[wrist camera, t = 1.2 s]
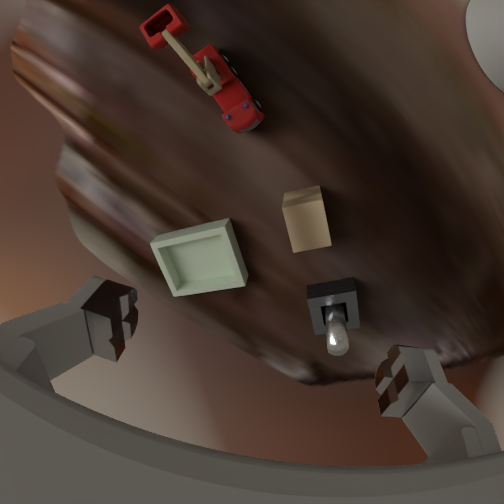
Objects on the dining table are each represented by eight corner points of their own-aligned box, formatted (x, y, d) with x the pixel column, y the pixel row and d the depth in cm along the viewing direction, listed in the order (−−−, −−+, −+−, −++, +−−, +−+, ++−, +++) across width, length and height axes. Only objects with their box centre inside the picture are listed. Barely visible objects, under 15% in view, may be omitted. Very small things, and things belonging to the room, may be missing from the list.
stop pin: (341, 291, 39) (348, 338, 32) (343, 305, 40) (349, 353, 33) (322, 294, 40) (326, 342, 32) (325, 308, 41) (328, 356, 33)
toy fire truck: (243, 134, 32) (222, 149, 24) (175, 39, 28) (134, 25, 19) (269, 118, 31) (258, 126, 22) (200, 22, 26) (165, 0, 18)
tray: (229, 218, 37) (224, 226, 35) (248, 275, 40) (245, 285, 38) (157, 235, 39) (149, 243, 37) (180, 286, 43) (174, 296, 40)
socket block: (352, 277, 38) (356, 290, 36) (357, 313, 41) (360, 327, 38) (306, 285, 40) (307, 299, 37) (314, 320, 42) (315, 335, 40)
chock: (319, 185, 34) (322, 199, 29) (327, 226, 36) (331, 245, 31) (284, 192, 35) (282, 207, 30) (294, 232, 37) (293, 252, 32)
